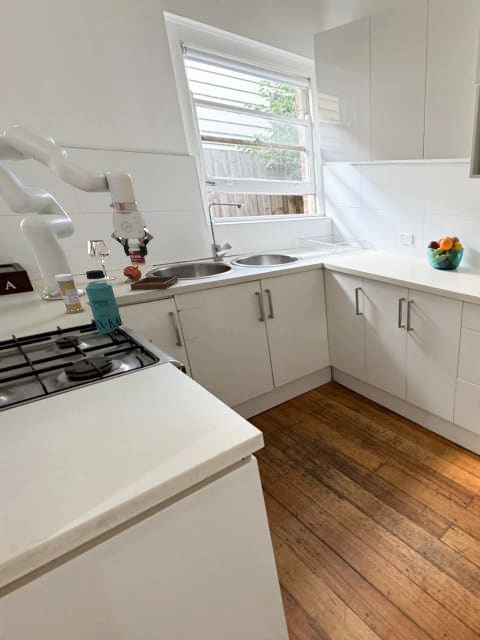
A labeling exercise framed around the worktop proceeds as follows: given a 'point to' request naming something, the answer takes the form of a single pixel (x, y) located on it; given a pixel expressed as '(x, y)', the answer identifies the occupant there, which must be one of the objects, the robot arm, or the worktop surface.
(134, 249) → the pill bottle
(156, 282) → the tray
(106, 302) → the beverage bottle
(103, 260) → the wineglass
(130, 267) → the pomegranate
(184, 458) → the worktop surface
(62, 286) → the sprinkles bottle
